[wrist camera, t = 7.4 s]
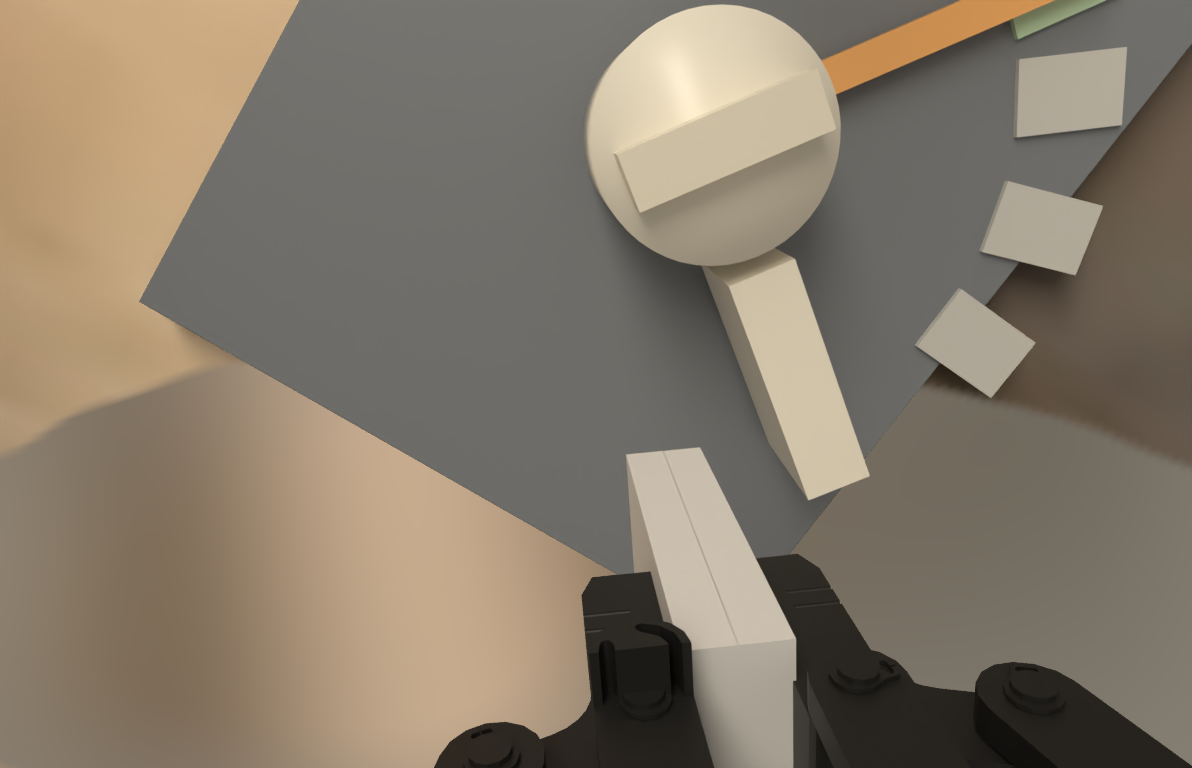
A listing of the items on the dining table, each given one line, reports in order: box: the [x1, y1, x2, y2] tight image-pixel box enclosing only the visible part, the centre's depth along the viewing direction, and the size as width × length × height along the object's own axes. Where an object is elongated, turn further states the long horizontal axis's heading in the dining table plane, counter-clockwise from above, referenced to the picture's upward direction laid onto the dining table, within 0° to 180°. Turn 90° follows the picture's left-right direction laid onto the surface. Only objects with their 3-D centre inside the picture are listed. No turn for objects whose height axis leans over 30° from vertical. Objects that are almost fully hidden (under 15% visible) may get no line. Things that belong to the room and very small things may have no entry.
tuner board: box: [139, 0, 1192, 575], centre depth 26 cm, size 24×26×2 cm
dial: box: [583, 0, 1055, 500], centre depth 23 cm, size 16×13×6 cm
